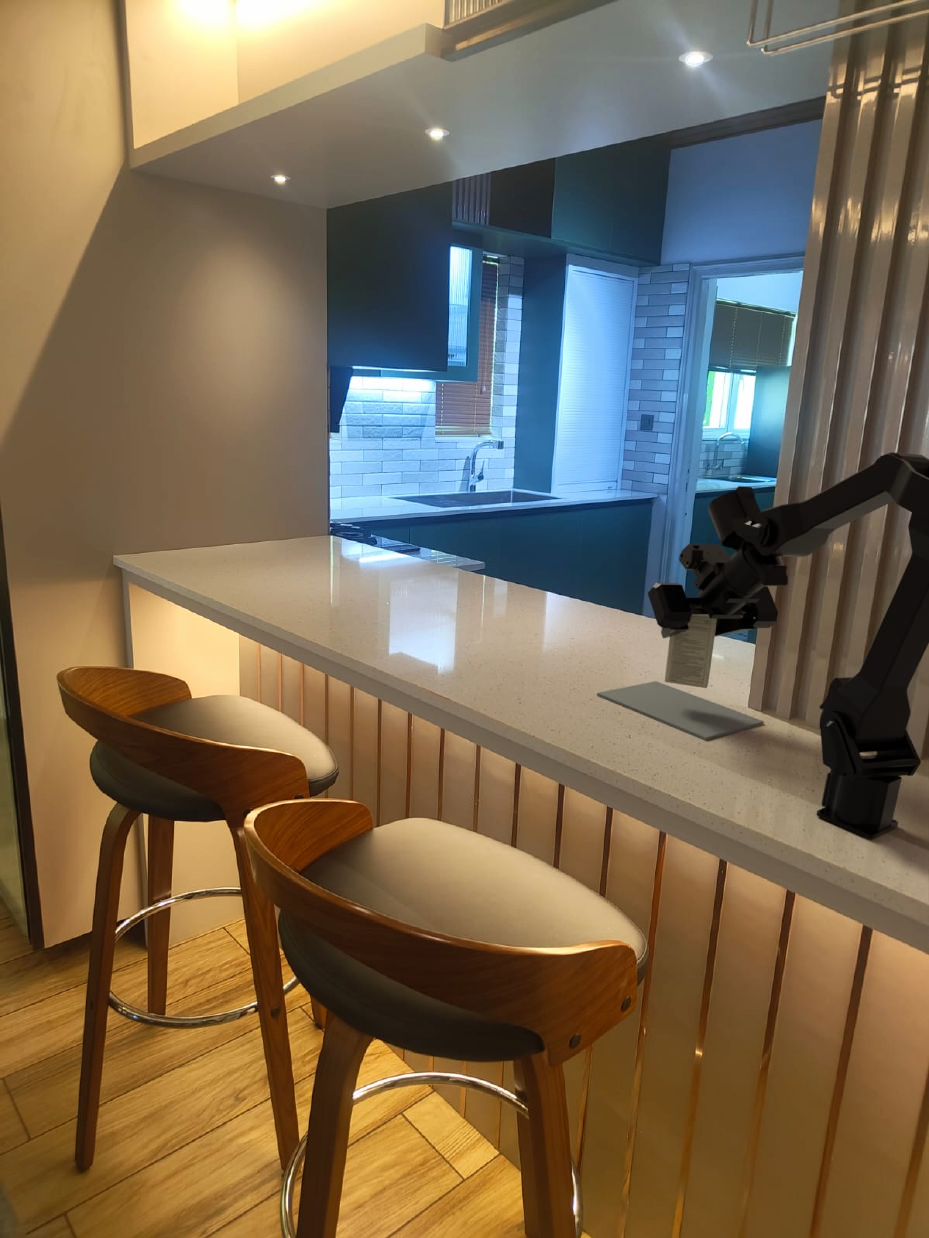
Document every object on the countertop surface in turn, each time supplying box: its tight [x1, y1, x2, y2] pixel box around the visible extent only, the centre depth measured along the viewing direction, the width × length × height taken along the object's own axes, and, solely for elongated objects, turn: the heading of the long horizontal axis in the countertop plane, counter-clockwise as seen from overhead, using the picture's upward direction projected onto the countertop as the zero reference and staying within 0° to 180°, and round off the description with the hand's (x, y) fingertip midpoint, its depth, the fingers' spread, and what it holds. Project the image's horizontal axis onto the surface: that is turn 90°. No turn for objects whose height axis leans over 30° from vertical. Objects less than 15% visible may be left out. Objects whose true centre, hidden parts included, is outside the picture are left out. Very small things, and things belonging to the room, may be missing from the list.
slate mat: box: [596, 680, 765, 741], centre depth 130 cm, size 20×14×1 cm
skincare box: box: [664, 615, 717, 689], centre depth 127 cm, size 6×4×12 cm
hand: (684, 635), depth 129 cm, fingers closed on skincare box, 7 cm apart
